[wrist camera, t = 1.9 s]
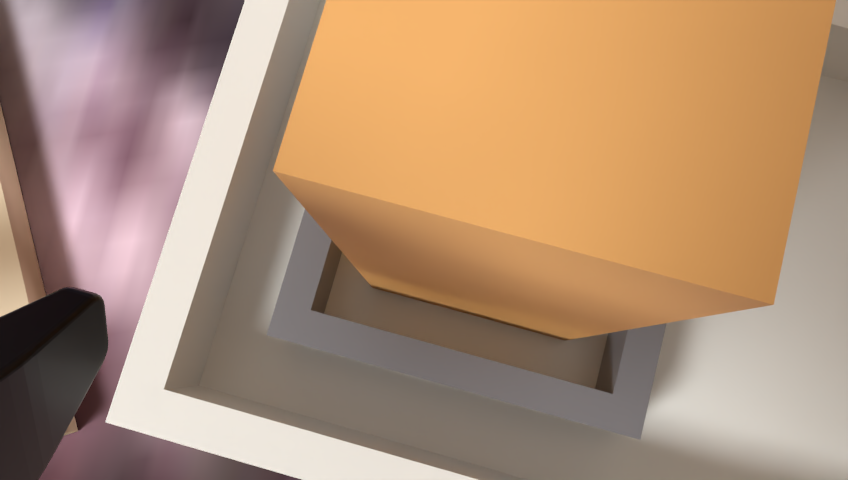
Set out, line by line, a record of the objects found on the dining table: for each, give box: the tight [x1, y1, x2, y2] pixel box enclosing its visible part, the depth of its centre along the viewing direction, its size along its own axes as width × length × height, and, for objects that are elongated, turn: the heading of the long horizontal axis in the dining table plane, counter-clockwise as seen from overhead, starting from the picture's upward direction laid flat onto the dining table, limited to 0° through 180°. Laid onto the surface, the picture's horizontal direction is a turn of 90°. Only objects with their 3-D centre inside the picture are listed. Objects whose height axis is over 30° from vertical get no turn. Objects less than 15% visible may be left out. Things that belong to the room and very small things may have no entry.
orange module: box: [273, 0, 836, 340], centre depth 14 cm, size 5×5×12 cm
